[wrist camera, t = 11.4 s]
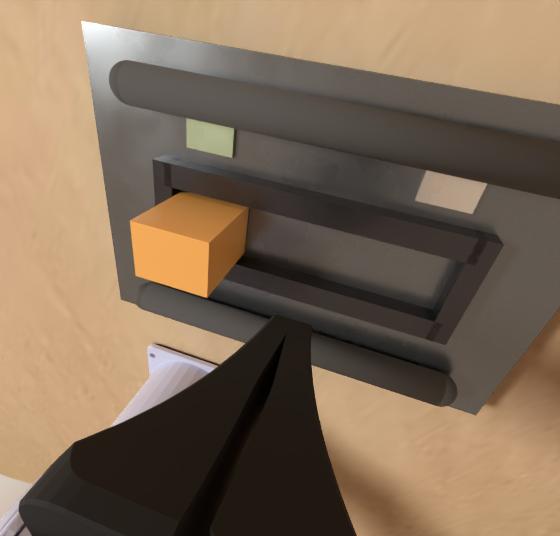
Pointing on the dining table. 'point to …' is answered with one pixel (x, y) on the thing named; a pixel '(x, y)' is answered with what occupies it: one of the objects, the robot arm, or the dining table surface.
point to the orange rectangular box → (189, 242)
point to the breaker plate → (344, 212)
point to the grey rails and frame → (345, 138)
